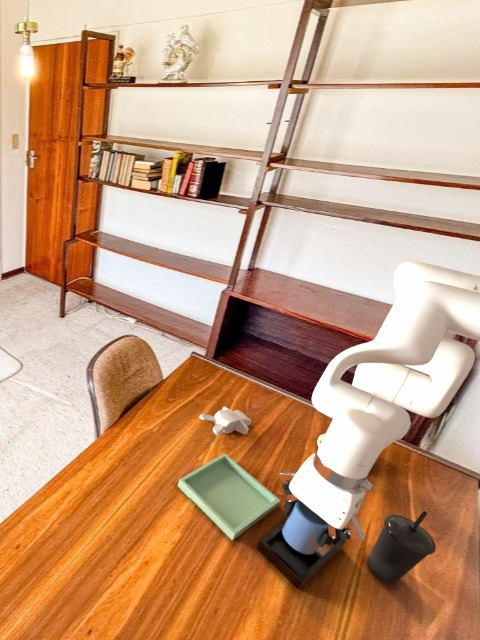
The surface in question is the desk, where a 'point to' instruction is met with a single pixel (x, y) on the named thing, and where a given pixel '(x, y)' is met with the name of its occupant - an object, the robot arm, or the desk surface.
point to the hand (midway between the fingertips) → (305, 526)
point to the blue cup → (304, 529)
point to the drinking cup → (399, 548)
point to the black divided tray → (296, 557)
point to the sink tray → (228, 495)
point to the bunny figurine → (228, 421)
